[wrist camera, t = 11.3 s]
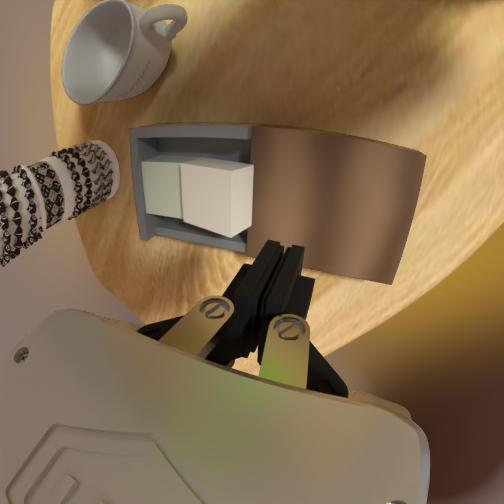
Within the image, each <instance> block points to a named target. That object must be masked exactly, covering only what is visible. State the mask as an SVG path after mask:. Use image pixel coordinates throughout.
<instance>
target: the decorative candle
mask: <svg viewBox="0 0 504 504" xmlns="http://www.w3.org/2000/svg"><path fill="white" fill-rule="evenodd" d="M119 182H120V168H119V163H118V160H117V158H116V155H115V152H114V151H113V150H112V149H111V147H110V146H109V145H108V144H107V143H105V142H103V141H101V140H95V141H90V142H89V143H88V144H87V145H86V144H85V142H83V143H82V144H80V145H79V147H77V146H76V145H73V148H68V149H67V150H66V149H62V150H61V151H58V152H52V153H51V156H49V157H47V158H44V159H41V160H39V161H38V162H37V163H35V164H32V165H30V166H27V167H26V166H24V165H22V166H20V165H19V166H17V167H14V169H13V172H12V174H11V175H9V174H8V173H7V171H0V266H2V267H3V266H5V265H6V264H7V263H9V261H10V258H11V259H14V258H15V256H19V254H20V249H21V248H22V247H23V248H25V249H27V248H28V247H29V245H32V244H33V243H34V242H37V241H38V239H41V238H42V236H43V235H44V234H45V230H46V229H48V228H49V227H51V226H52V225H54V224H59V223H60V222H62V221H64V220H66V219H68V220H71V219H72V218H75V217H77V216H78V215H80V214H81V212H86V210H89V209H91V208H93V207H96V206H97V205H99V204H100V203H103V202H105V201H106V200H107V199H109V198H111V197H113V196H114V194H115V193H116V191H117V190H118V187H119ZM26 240H27V241H26ZM24 241H25V242H24ZM14 248H16V249H15V250H14V251H11V250H12V249H14ZM2 256H3V258H2V259H1V257H2Z"/></svg>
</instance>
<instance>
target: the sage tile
mask: <svg viewBox="0 0 504 504" xmlns="http://www.w3.org/2000/svg"><path fill="white" fill-rule="evenodd" d="M200 158H204V157H188V156H157V157H154V158H151V159H148V160H145V161H142V162H141V164H142V177H143V187H144V197H145V206H146V213H149V214H155V215H162V216H168V217H175V218H181V219H184V218H183V203H182V186H181V163H183V162H187V161H191V160H195V159H200Z"/></svg>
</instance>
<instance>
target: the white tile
mask: <svg viewBox="0 0 504 504" xmlns="http://www.w3.org/2000/svg"><path fill="white" fill-rule="evenodd" d="M253 175H254V165H251V164H245V163H239V162H233V161H226V160H219V159H212V158H205V157H204V158H200V159H195V160H191V161H187V162H183V163H181V186H182V203H183V218H184V222H186V223H189V224H192V225H195V226H198V227H201V228H204V229H207V230H210V231H212V232H215V233H218V234H221V235H224V236H227V237H230V238H232V237H233V236H235V235H237V234H238V233H240V232H242V231H243V230H245V229H247V228H248V227H250V226H251V225H252V200H253Z"/></svg>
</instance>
